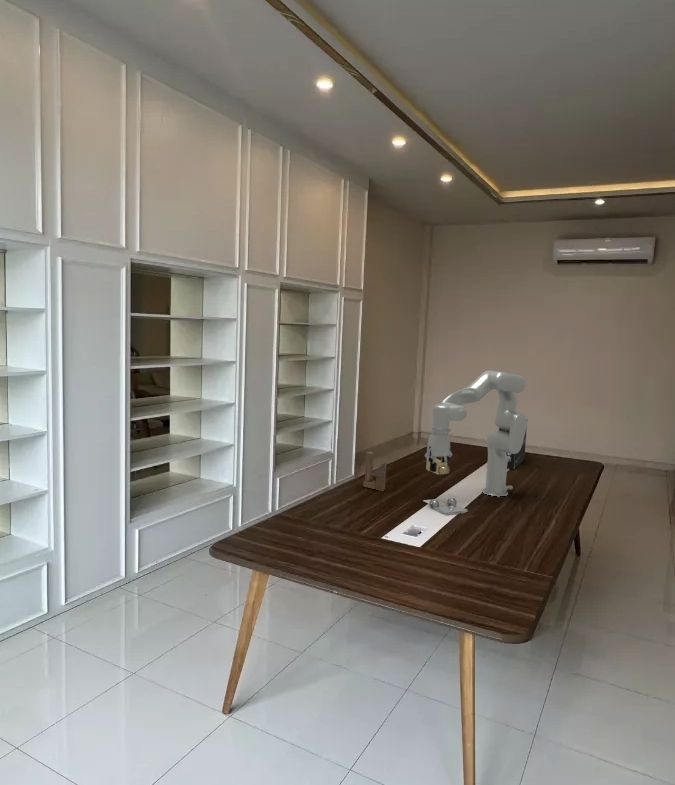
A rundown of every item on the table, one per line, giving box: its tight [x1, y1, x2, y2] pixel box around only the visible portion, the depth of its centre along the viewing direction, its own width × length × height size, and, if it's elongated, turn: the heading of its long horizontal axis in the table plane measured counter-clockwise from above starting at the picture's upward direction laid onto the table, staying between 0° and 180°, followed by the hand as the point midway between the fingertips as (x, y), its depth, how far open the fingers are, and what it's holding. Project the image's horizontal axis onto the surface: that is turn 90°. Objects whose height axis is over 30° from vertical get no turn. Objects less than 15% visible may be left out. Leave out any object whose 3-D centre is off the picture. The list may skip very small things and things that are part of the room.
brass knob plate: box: [425, 458, 451, 475], centre depth 263 cm, size 5×12×5 cm, turn 26°
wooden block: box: [362, 451, 388, 492], centre depth 284 cm, size 4×11×18 cm, turn 56°
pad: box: [422, 498, 448, 507], centre depth 266 cm, size 7×10×1 cm
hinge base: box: [428, 497, 469, 516], centre depth 256 cm, size 14×12×4 cm
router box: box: [498, 425, 528, 470], centre depth 355 cm, size 36×11×27 cm, turn 152°
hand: (437, 470), depth 264 cm, fingers closed on brass knob plate, 5 cm apart
